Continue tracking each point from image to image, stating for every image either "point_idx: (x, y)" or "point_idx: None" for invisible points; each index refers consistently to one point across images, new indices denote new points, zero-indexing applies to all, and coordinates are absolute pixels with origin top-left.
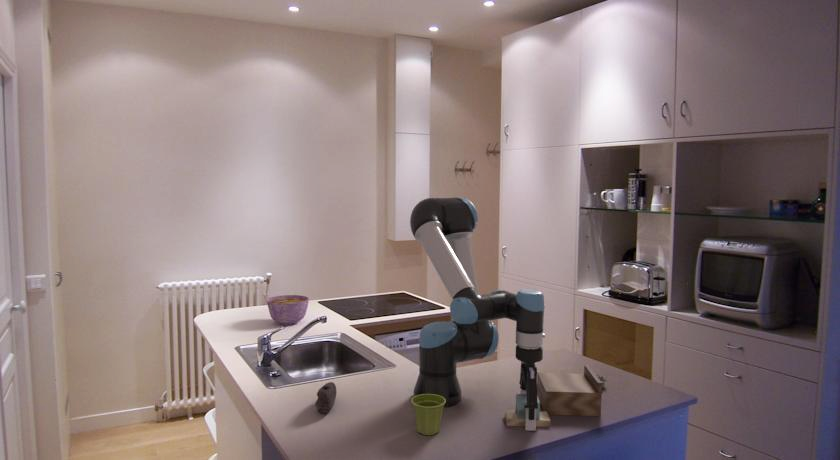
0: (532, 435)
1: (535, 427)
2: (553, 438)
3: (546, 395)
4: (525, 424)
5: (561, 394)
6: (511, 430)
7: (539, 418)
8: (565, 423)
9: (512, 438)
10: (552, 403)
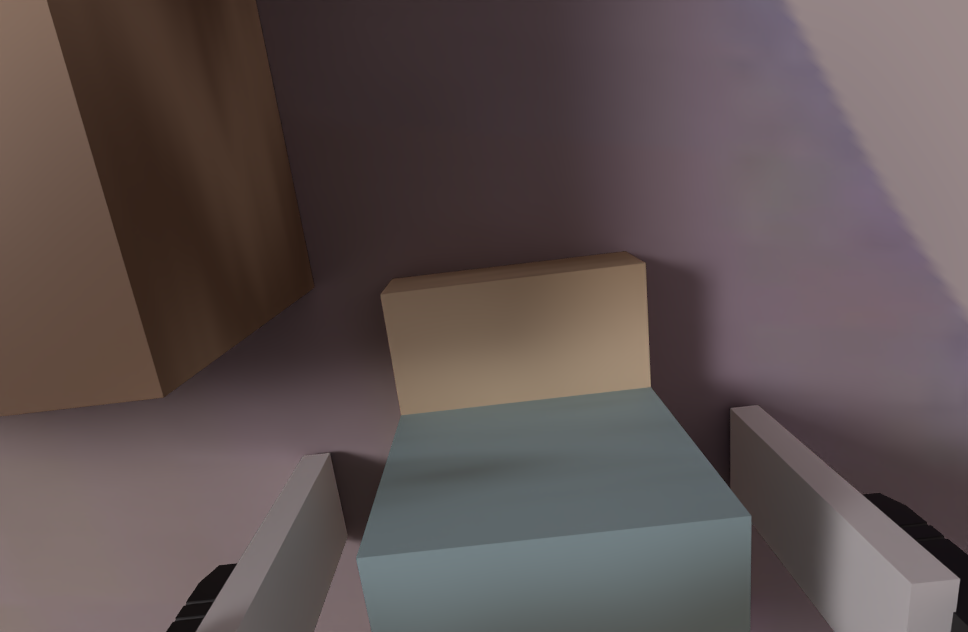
0: (840, 430)
1: (774, 421)
2: (905, 234)
3: (204, 356)
4: (754, 524)
5: (103, 49)
6: None
7: (656, 397)
8: (511, 65)
9: None
10: (240, 225)
